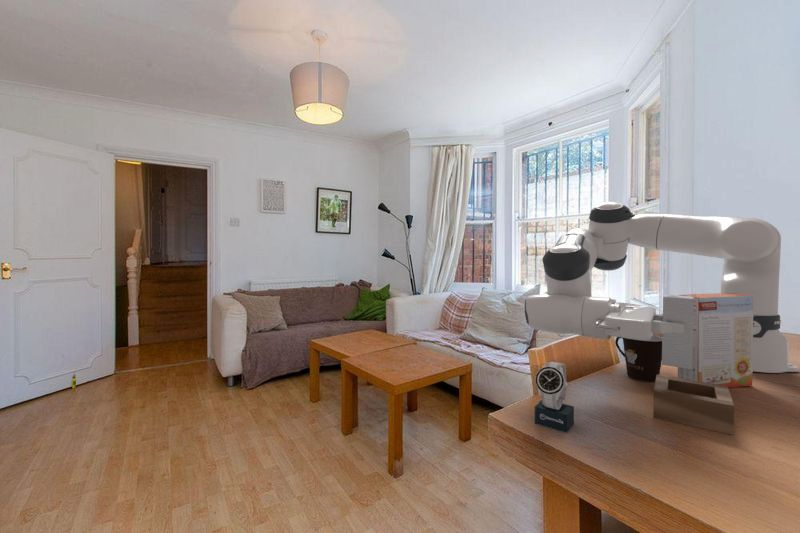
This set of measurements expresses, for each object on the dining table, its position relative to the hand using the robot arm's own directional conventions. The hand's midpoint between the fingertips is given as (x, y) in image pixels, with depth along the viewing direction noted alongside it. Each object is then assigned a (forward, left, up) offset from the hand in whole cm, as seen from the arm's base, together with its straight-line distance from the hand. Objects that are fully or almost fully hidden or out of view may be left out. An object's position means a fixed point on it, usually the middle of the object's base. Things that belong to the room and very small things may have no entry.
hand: (683, 325), depth 68 cm
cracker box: (-23, +6, -17) cm, 29 cm away
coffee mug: (-20, -8, -17) cm, 28 cm away
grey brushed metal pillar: (0, -1, -8) cm, 8 cm away
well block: (0, +1, -17) cm, 17 cm away
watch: (+19, -18, -17) cm, 31 cm away
